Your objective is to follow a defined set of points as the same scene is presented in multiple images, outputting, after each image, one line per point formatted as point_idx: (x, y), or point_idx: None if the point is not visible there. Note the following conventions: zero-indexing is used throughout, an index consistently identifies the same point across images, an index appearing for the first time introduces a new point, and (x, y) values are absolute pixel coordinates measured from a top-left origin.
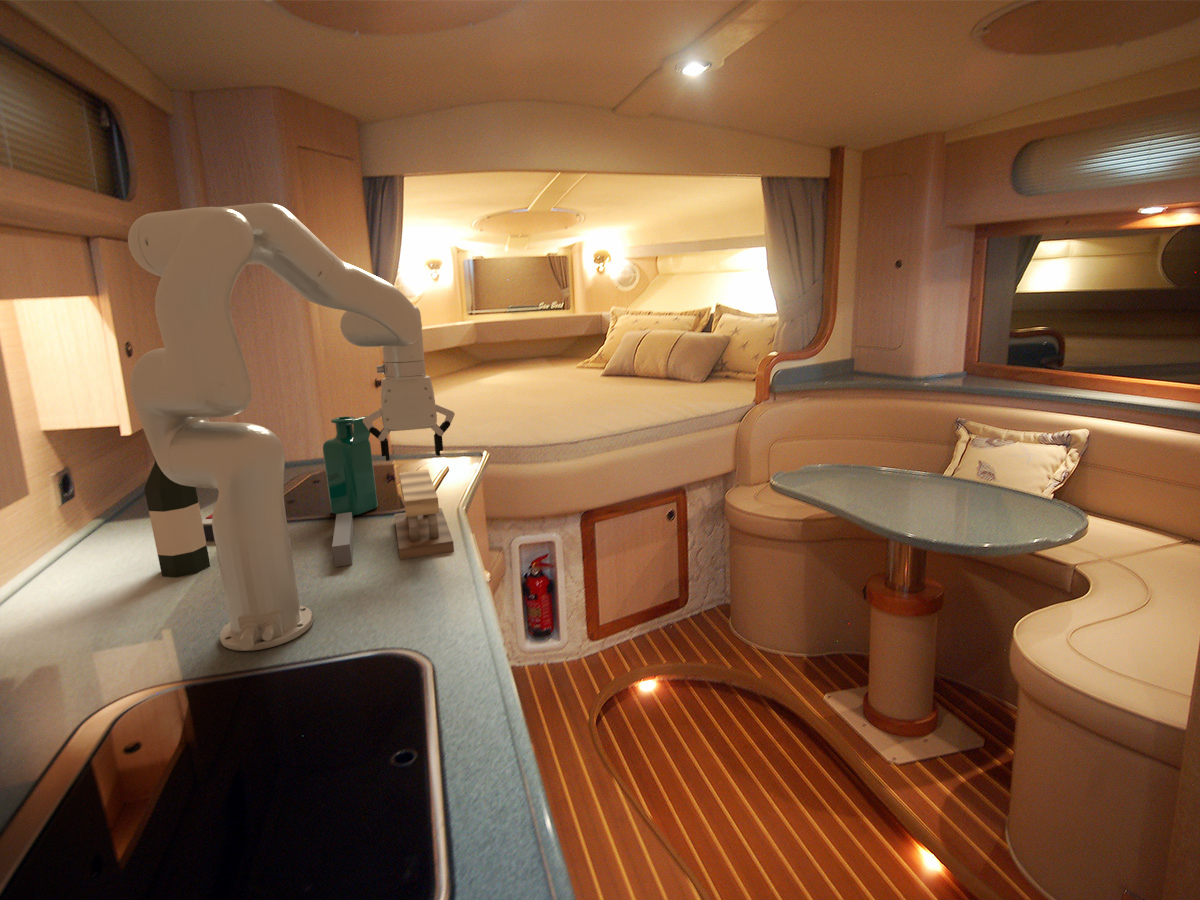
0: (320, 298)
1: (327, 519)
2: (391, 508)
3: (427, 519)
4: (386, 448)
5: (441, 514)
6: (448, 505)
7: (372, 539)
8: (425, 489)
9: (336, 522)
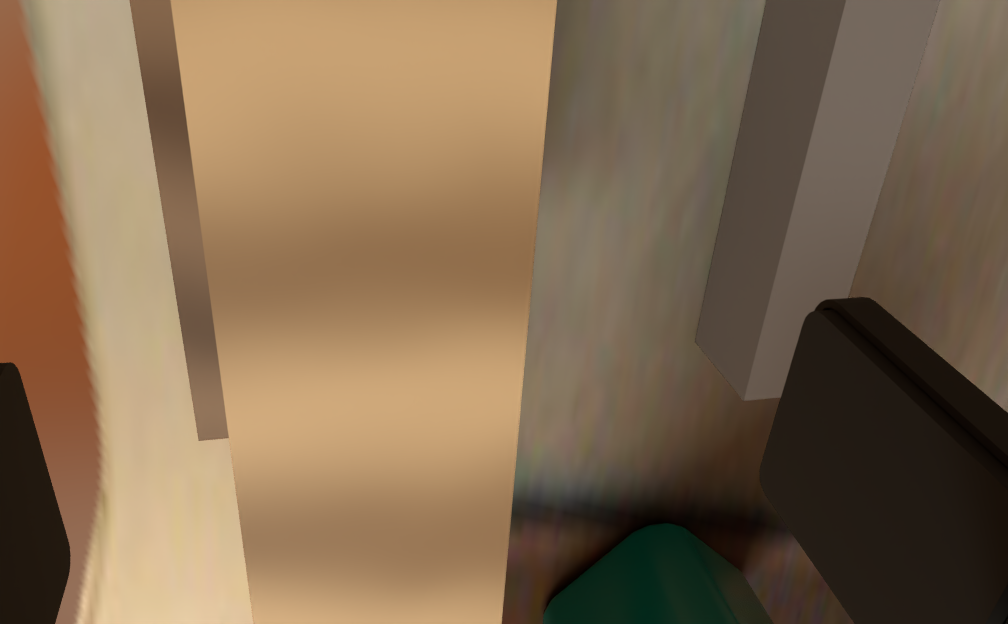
0: None
1: (767, 512)
2: None
3: None
4: (977, 409)
5: (195, 315)
6: (167, 567)
7: (634, 159)
8: None
9: (857, 247)
